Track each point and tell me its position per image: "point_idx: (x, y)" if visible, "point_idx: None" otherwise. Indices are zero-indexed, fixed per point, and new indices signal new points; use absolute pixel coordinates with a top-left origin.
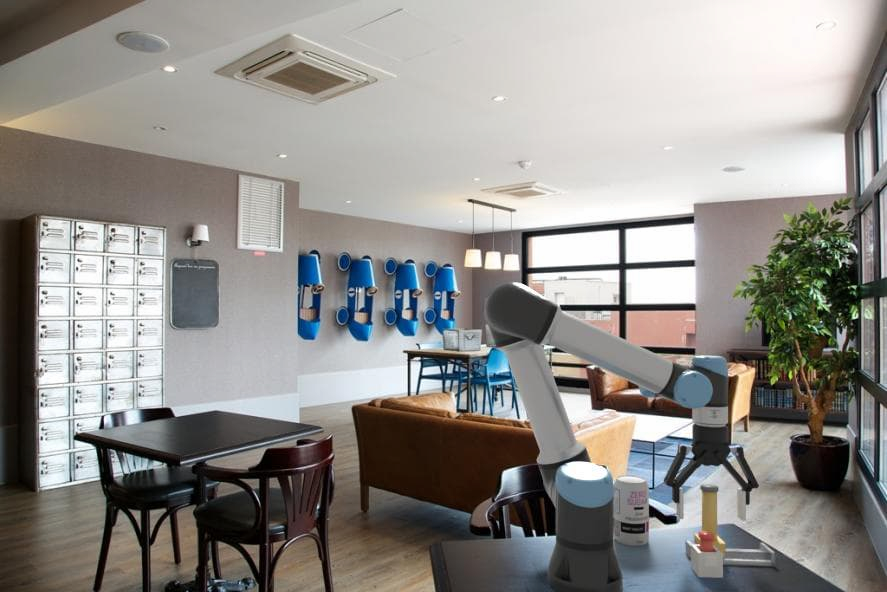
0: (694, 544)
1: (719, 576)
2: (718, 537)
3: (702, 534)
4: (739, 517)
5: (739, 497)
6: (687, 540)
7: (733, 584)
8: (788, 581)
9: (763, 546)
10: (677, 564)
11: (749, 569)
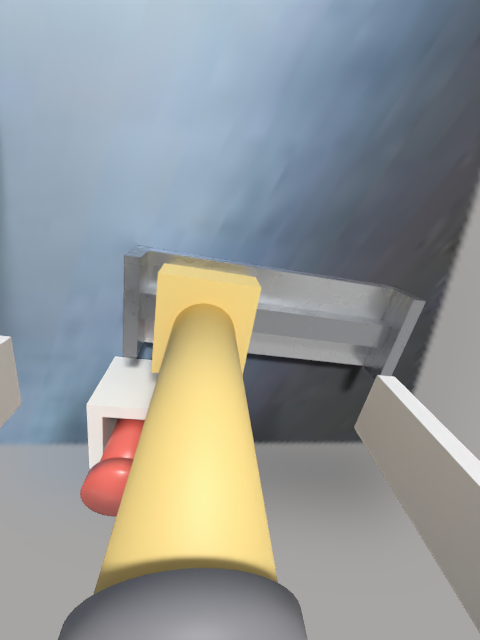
0: (101, 407)
1: None
2: (248, 323)
3: (92, 505)
4: (369, 401)
5: (460, 525)
6: (133, 257)
7: None
8: (328, 431)
9: (398, 329)
10: (77, 334)
11: (282, 372)
